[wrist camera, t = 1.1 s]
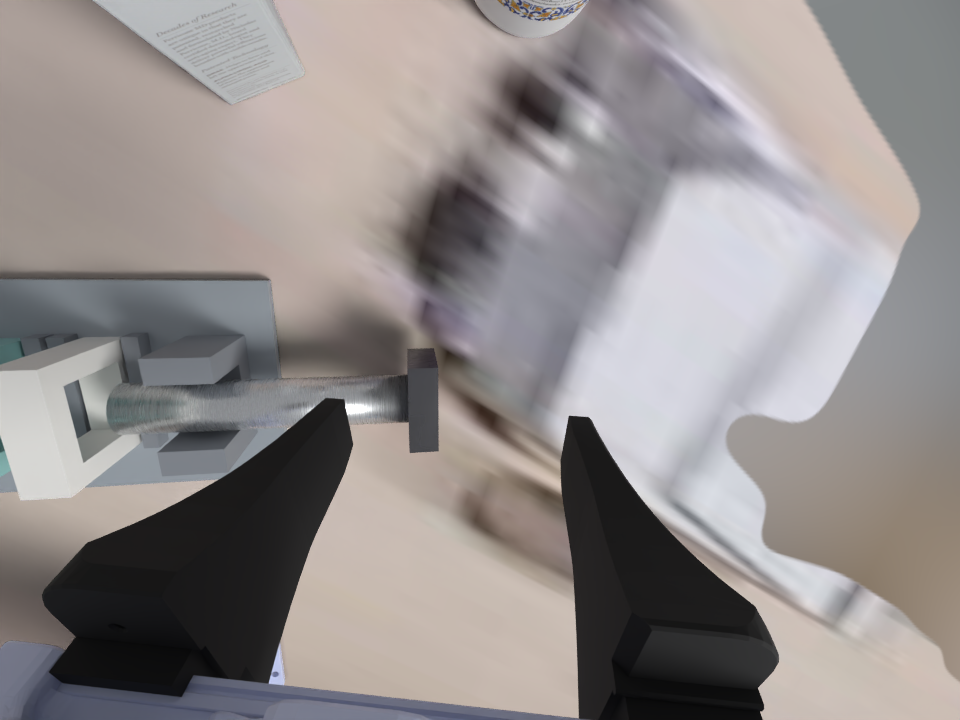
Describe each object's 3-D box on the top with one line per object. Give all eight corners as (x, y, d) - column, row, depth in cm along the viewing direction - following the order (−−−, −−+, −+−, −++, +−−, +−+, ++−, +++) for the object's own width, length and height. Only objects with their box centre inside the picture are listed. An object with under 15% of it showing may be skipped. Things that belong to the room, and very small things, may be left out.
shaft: (434, 421, 27) (438, 451, 23) (153, 434, 24) (109, 469, 21) (433, 348, 25) (437, 368, 22) (137, 354, 23) (86, 376, 19)
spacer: (147, 437, 25) (72, 497, 20) (108, 439, 25) (20, 500, 19) (126, 336, 24) (36, 369, 18) (84, 337, 23) (-21, 371, 18)
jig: (291, 470, 28) (266, 521, 23) (-81, 492, 25) (-202, 557, 20) (270, 279, 25) (236, 292, 20) (-164, 277, 21) (-334, 291, 16)
